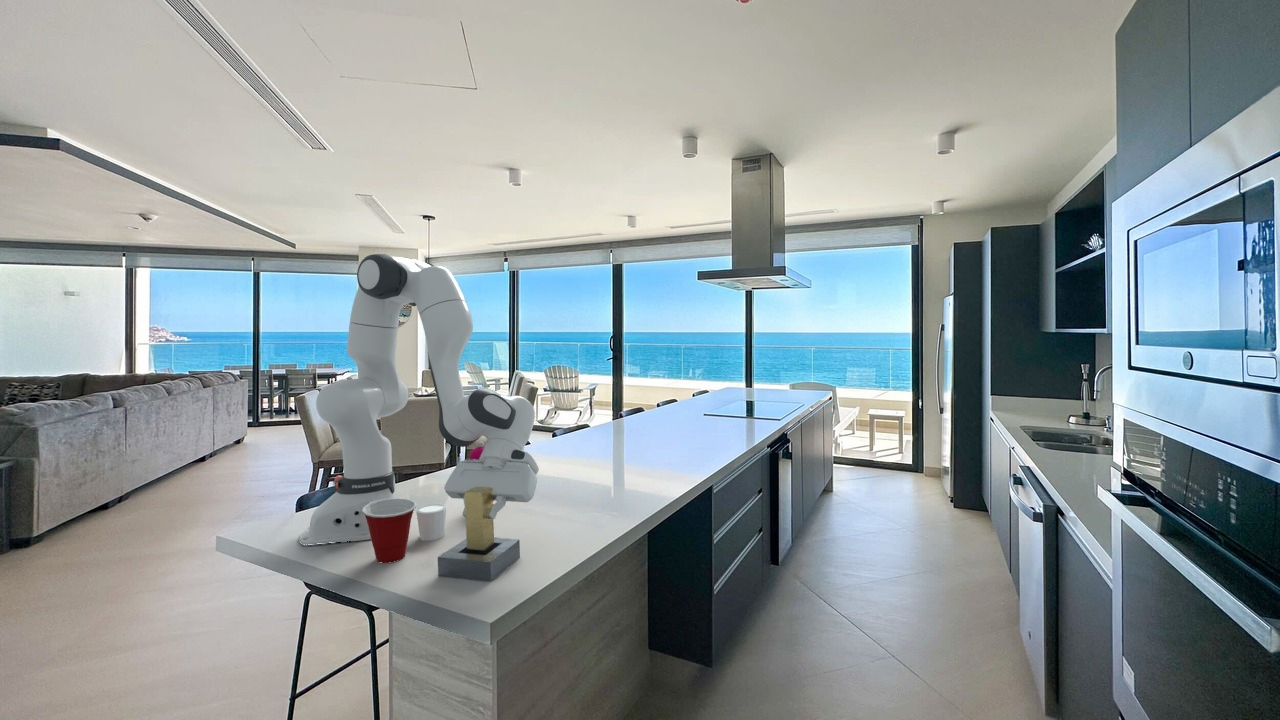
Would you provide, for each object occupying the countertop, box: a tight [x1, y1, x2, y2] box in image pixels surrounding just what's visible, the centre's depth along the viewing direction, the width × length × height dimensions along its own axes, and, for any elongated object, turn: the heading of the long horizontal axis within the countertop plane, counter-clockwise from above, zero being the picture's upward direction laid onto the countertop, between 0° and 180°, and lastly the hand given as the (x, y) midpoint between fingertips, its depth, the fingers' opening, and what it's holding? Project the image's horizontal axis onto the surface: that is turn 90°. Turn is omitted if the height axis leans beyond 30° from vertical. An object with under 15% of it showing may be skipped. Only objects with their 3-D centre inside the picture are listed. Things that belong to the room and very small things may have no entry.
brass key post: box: [464, 487, 495, 550], centre depth 110 cm, size 4×4×12 cm
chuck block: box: [437, 536, 521, 583], centre depth 110 cm, size 12×12×4 cm
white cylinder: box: [415, 503, 447, 542], centre depth 128 cm, size 7×7×7 cm
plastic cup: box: [362, 497, 417, 564], centre depth 115 cm, size 11×11×12 cm
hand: (478, 517), depth 109 cm, fingers closed on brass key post, 4 cm apart
